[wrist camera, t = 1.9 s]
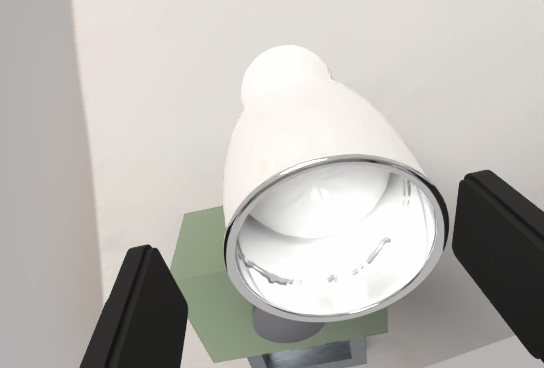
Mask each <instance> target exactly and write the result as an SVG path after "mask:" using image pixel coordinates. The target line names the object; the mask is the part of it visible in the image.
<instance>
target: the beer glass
mask: <svg viewBox="0 0 544 368" xmlns="http://www.w3.org/2000/svg"><path fill="white" fill-rule="evenodd" d="M241 100H242V105H243V108H244V110H243V112H242V113H241V115H240V117H239V119H238V121H237V124H236V126H235V128H234V131H233V134H232V136H231V139H230V142H229V146H228V151H227V157H226V162H225V169H224V184H223V219H224V243H223V259H224V264H225V268H226V271H227V274H228V276H229V278H230V280H231V282H232V283H233V285H234V286H235V288H236V289H237V290H238V291H239V292H240V294H241V295H242V296H243V297H245V298H246V299H247V300H248V301H249V302H251V303H252V304H253V305H255V306H257V307H258V308H260V309H262V310H264V311H266V312H268V313H270V314H273V315H276V316H279V317H282V318H286V319H290V320H295V321H303V322H334V321H342V320H347V319H352V318H356V317H360V316H363V315H367V314H370V313H372V312H375V311H378V310H380V309H382V308H384V307H387V306H389V305H391V304H392V303H394V302H396V301H398V300H399V299H401V298H402V297H404V296H405V295H407V294H408V293H410V292H411V291H412V290H414V289H415V288H416V287H417V286H418V285H419V284H420V283H421V282H422V281H423V280H424V279H425V278H426V277H427V276H428V275H429V274H430V273H431V271H432V270H433V269H434V267H435V266H436V264H437V263H438V261H439V259H440V258H441V255H442V253H443V251H444V249H445V246H446V242H447V238H448V233H449V216H448V211H447V207H446V204H445V202H444V199H443V197H442V195H441V193H440V192H439V190H438V189H437V187H436V186H435V185H434V184H433V183H432V182H431V181H430V180H429V179H428V177H427V176H426V174H425V173H424V171H423V170H422V168H421V166H420V165H419V163H418V162H417V160H416V159H415V157H414V156H413V154H412V153H411V151H410V150H409V148H408V147H407V145H406V144H405V142H404V141H403V140H402V138H401V137H400V135H399V134H398V133H397V132H396V131H395V129H394V128H393V127H392V126H391V124H390V123H389V122H388V121H387V119H386V118H385V117H384V116H383V115H382V114H381V113H380V112H379V111H378V110H377V109H376V108H375V107H374V106H373V105H372V104H371V103H369V102H368V101H367V100H366V99H365V98H364V97H362V96H361V95H359V94H358V93H356V92H355V91H353V90H351V89H350V88H348V87H347V86H345V85H343V84H341V83H339V82H337V81H334V80H332V79H331V76H330V73H329V70H328V68H327V66H326V65H325V63H324V62H323V61H322V59H321V58H320V57H319V56H318V55H316V54H315V53H314V52H312V51H310V50H309V49H306V48H304V47H301V46H296V45H281V46H276V47H273V48H270V49H268V50H266V51H264V52H263V53H261V54H260V55H259V56H257V57H256V58H255V59H254V60H253V61H252V63H251V64H250V65H249V67H248V68H247V70H246V72H245V74H244V77H243V80H242V84H241Z"/></svg>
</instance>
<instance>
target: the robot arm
mask: <svg viewBox="0 0 544 368" xmlns="http://www.w3.org/2000/svg"><path fill="white" fill-rule="evenodd" d="M452 249H453V252H454V255H455V256H456V258H457V259H458V260H459V262H460V263H461V264H462V266H463V267H464V268H465V269H466V271H467V272H468V273H469V275H470V276H471V277H472V279H473V280H474V281H475V282H476V284H477V285H478V286H479V288H480V289H481V290H482V292H483V293H484V294H485V296H486V297H487V298H488V299H489V301H490V302H491V303H492V305H493V306H494V307H495V309H496V310H497V311H498V312H499V314H500V315H501V316H502V318H503V319H504V320H505V322H506V323H507V324H508V325H509V327H510V328H511V329H512V331H513V332H514V333H515V335H516V336H517V337H518V339H519V340H520V341H521V342H522V344H523V345H524V346H525V348H526V349H527V350H528V351H529V353H530V354H531V355H532V356H533V357H535V358H537V359H541V360H542V361H543V362H544V212H543V211H542V210H541V209H539V208H538V207H537V206H535V205H534V204H533V203H532V202H530V201H529V200H528V199H526V198H525V197H524V196H523V195H521V194H520V193H519V192H518V191H516V190H515V189H514V188H512V187H511V186H510V185H509V184H507V183H506V182H505V181H503V180H502V179H501V178H500V177H498V176H497V175H496V174H494V173H493V172H492V171H490V170H483V171H479V172H474V173H469V174H467V175H466V176H465V177H464V180H461V181H460V183H459V190H458V198H457V206H456V215H455V223H454V231H453V240H452ZM187 318H188V304H187V301H186V299H185V298H184V296H183V294H182V292H181V290H180V289H179V287H178V285H177V283H176V281H175V279H174V278H173V276H172V274H171V272H170V270H169V268H168V267H167V265H166V263H165V261H164V259H163V258H162V256H161V254H160V252H159V250H158V249H157V248H152V247H151V246H150V245H143V246H138V247H134V248H130V249H129V250H128V251H127V254H126V256H125V259H124V261H123V264H122V266H121V269H120V271H119V274H118V276H117V279H116V281H115V284H114V286H113V289H112V291H111V294H110V296H109V299H108V300H107V302H106V303H105V306H104V308H103V311H102V313H101V315H100V318H99V320H98V323H97V325H96V328H95V330H94V333H93V335H92V338H91V340H90V343H89V345H88V348H87V350H86V353H85V355H84V358H83V360H82V363H81V365H80V368H180V365H181V359H182V352H183V345H184V338H185V331H186V325H187Z"/></svg>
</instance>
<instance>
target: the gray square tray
mask: <svg viewBox="0 0 544 368" xmlns="http://www.w3.org/2000/svg"><path fill="white" fill-rule="evenodd" d="M247 358H248V361H249V363H250V365H251V367H252V368H344V367H350V366H356V365H362V364H367V358H366V347H365V337H359V338H353V339H347V340H342V341H336V342H330V343H325V344H319V345H313V346H308V347H302V348H296V349H291V350H285V351H279V352H274V353H268V354H262V355H257V356H251V357H247Z"/></svg>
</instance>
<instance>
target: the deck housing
mask: <svg viewBox="0 0 544 368" xmlns="http://www.w3.org/2000/svg"><path fill="white" fill-rule="evenodd" d="M223 243H224V219H223V206H221V207H217V208H212V209H207V210H202V211H197V212H192V213H188V214H184V218H183V222H182V226H181V230H180V233H179V237H178V241H177V245H176V249H175V253H174V257H173V260H172V264H171V268H170V272H171V274H172V276H173V278H174V279H175V281H176V283H177V285H178V287H179V289H180V290H181V292H182V294H183V296H184V298H185V299H186V301H187V304H188V319H189V321H190V323H191V324H192V326H193V328H194V330H195V331H196V333H197V335H198V337H199V338H200V340H201V342H202V343H203V345H204V347H205V349H206V350H207V352H208V354H209V356H210V357H211V359H212V361H213V363H217V362H223V361H228V360H234V359H240V358H245V357H251V356H257V355H262V354H268V353H274V352H279V351H285V350H291V349H296V348H302V347H308V346H313V345H319V344H325V343H330V342H336V341H342V340H347V339H353V338H359V337H364V336H370V335H376V334H381V333H387V332H388V331H387V307H384V308H382V309H380V310H378V311H375V312H372V313H370V314H367V315H363V316H360V317H356V318H352V319H347V320H342V321H334V322H303V321H295V320H290V319H286V318H282V317H279V316H276V315H273V314H270V313H268V312H266V311H264V310H262V309H260V308H258V307H257V306H255V305H253V304H252V303H251V302H249V301H248V300H247V299H246V298H245V297H243V296H242V295H241V294H240V292H239V291H238V290H237V289H236V288H235V286H234V285H233V283H232V282H231V280H230V278H229V276H228V274H227V271H226V268H225V264H224V259H223Z"/></svg>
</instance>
